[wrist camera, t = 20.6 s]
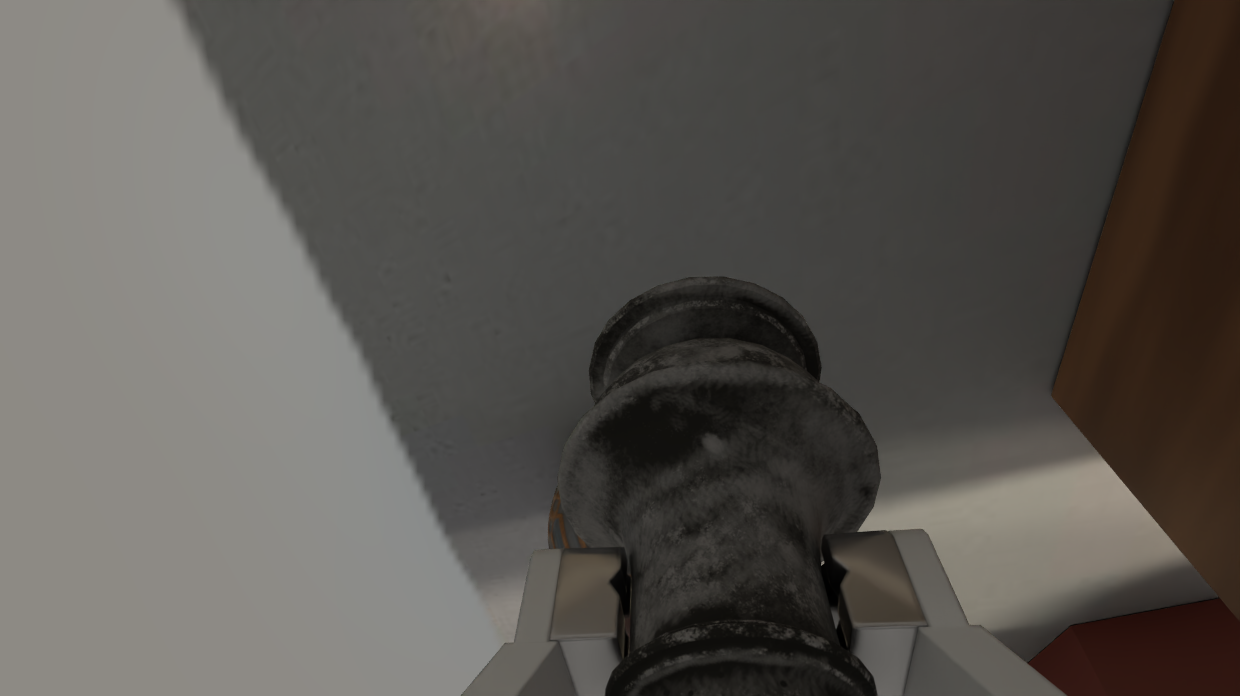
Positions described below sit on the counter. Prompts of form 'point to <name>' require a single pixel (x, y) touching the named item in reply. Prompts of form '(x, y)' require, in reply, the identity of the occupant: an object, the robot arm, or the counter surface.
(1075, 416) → the cupboard door
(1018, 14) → the counter surface
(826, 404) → the grey stone turned figure
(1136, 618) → the bucket
